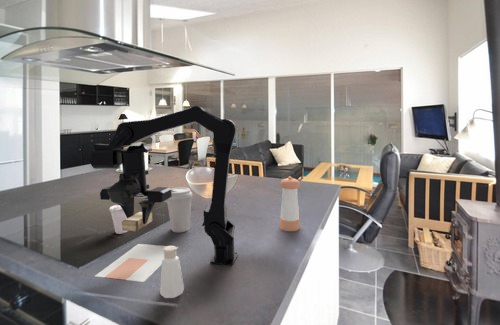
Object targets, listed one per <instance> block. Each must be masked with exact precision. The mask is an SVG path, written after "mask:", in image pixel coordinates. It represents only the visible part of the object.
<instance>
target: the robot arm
mask: <svg viewBox="0 0 500 325" xmlns="http://www.w3.org/2000/svg"><path fill="white" fill-rule="evenodd" d="M194 123H197V124H198V125H200V126H202V127H204V128H205V129H206V130H208V131H210V132H211V133H213V142H214V143H213V145H214V149H215V158H214V159H215V160H214V161H215V162H214V173H213V182H212V192H211V193H212V194H211V203H210V205H209V204H207V205H206V206H205V209H204V210H203V223H202V225H201V226H202V227H204V228H203V229H204V233H205V234H206V235H207V236H208V237H210V239H211V242H212V244H213V256H212V258H211V260H210V261H209V262H210V264H214V265H215V264H216V265H226V266H233V265H234V263H235V261H236V259H237V257H238V256H239V253H238V252H235V236H234V235H235V230H236V229H235V228H236V227H235V225H234V224H233V223H232V221H230V220H228V210H227V209H228V208H227V205H226V198H227V188H228V178H229V168H230V167H229V166H230V159H231V158H230V157H231V152H232V149H233V145H234V142H235V139H236V136H237V130H238V129H237V124H235V122H234V121H232V120H231V119H227V118H225V119H224V118H220V117H218V116H217V115H214V114H212V113H211V112H209V111H207V110H205V109H204V108H203V107H201V106H198V105H195V106H194V105H193V106H191V107H190V108H187V109H184V110H183V109H182V110H180V111H177V112H173V113H170V114H166V115H162V116H159V117H155V118H152V119H145V120H134V121H124V122H123V121H122V122H120V123H118V125H117V127H116V129H115V135H114V137H113V138H112V140H111V141H110V143H108V144H107V143H105V144H104V143H95V144H93V149H92V151H91V153H90V157H89V163H90V165H91V168H93V169H95V170H98V169H99V170H104V169H105V170H110V169H111V170H112V169H114V170H117V169H119V167H120V165H121V166H122V172H121V173H119V175H118V178H119V179H118V181H117V182H115V183H114V184H113V185H111V186H107V187H103V188H102V189H101V190H100V192H99V198H100V200H106V201H110V202H112V203H113V204H115V205H117V204H118V205H120V206H121V208H122V209H123V211H124V213H125V215H126V217H127V218H129V217H131V216H133V215H135V197H136V198H137V197H139V198H142V201H140V202H138V204H139V205H140V206H141V207H140V208H141V212H142V218H143V224H146V223H147V221H148V218H149V216H150V213H152V210H153V208H154V206H155V204H156V203H163V202H165V201H167V199H169V198H170V197H172V194H171V190H170V189H171V188H170V187H166V186H165V187H163V186H157V187H155V188H152V189H150V184H147V175H149V170H146V161H145V158H146V157H145V153H149V152H152V150H153V149H152V148H151V146H149V145H147V143H146V142H143V141H145V140H147V139H150V138H152V137H153V136H154V135H156V134H158V133H161V132H165V131H168V130H172V129H176V128H179V127H182V126H187V125H190V124H194ZM141 142H142V143H141ZM137 143H141V144H139V145H133V144H137ZM126 147H127V148H126ZM122 148H125V149H122Z"/></svg>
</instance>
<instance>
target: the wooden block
mask: <svg viewBox="0 0 500 325" xmlns="http://www.w3.org/2000/svg"><path fill="white" fill-rule="evenodd" d="M152 222H153V212H151V213H150V216H149V218H148V221H147V223H146V224H143V218H142V211H138V212H136V213H134V215H133V216H131V217H129V218H127V219H125V220H123V221H122V230H124V231H127V232H138V231H139V230H140V229H142V228H144V227H145V226H147V225H148V224H149V223H152Z"/></svg>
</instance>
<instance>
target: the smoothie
mask: <svg viewBox="0 0 500 325" xmlns="http://www.w3.org/2000/svg"><path fill="white" fill-rule="evenodd" d="M109 212H110V214H111V218H112V223H113V227H114V231H115V233H116V234H117V235H118V234H119V235H121V234H125V233H127V232H128V231H124V230H122V221H123V220H125V219H127V217H126V215H125V213H124V211H123V209H122V208H121V206H120V205H118V204H114V205H112V206H110V207H109Z"/></svg>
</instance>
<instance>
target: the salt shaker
mask: <svg viewBox="0 0 500 325" xmlns="http://www.w3.org/2000/svg"><path fill="white" fill-rule="evenodd" d="M279 186H280V187H281V189H282V193H281V194H282V198H281V199H282V200H281V203H280V204H281V205H280V217H279V228H280V229H281V230H282V231H284V232H285V231H286V232H295V231H298V230H299V229H301V228H300V226H301V225H300V217H299V215H300V214H299V213H300V208H299V201H298V193H299V192H298V189H299V188H300V186H301V183H300V181H299V180H298V179H296V178H294V177H293V176H290V175H289V176H288V177H287V178H283V179H281V181H280V185H279Z"/></svg>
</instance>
